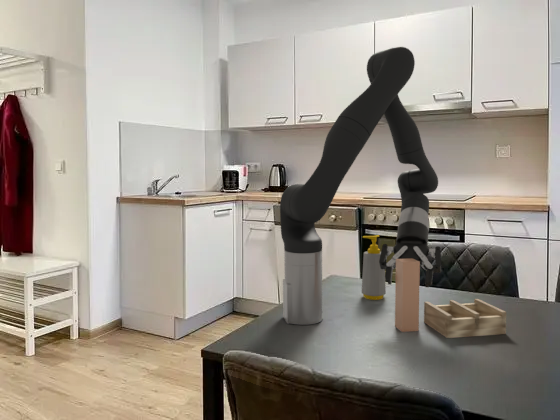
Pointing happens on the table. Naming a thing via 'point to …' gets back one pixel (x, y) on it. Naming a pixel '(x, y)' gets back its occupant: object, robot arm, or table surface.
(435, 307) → the rack
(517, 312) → the table surface
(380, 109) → the robot arm
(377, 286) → the soap bottle
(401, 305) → the clay bar
